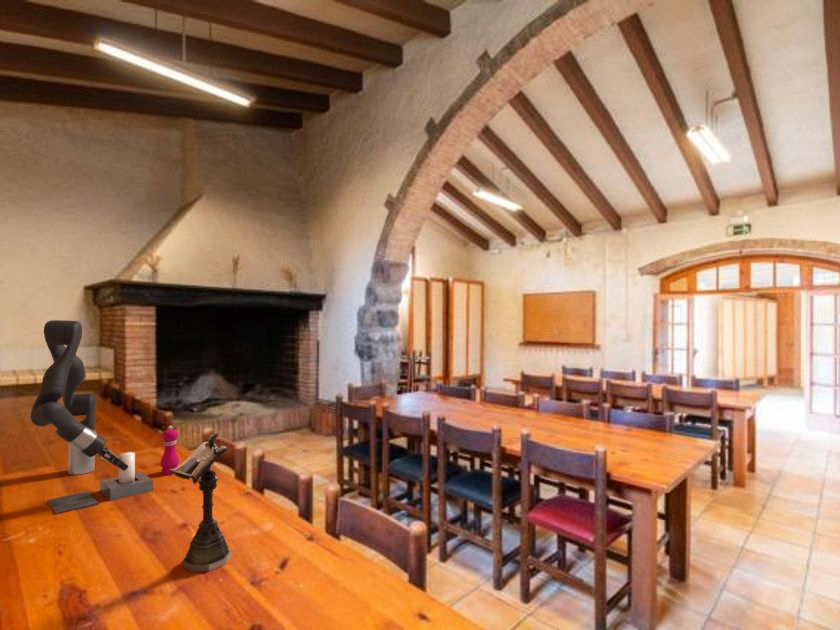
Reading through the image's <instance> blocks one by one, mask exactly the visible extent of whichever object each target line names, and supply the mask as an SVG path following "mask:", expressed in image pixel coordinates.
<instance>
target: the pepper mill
mask: <svg viewBox="0 0 840 630" xmlns="http://www.w3.org/2000/svg"><path fill="white" fill-rule="evenodd" d="M161 437H162V440H163V446H164V451H163V455H162V456H161V459H160V467H161V468H162V469H161V474H162V475H165V476H169V474H170V473H171V472H170V471H169V470H170V469H176V468H177V467H178V466H179V465H180V458H179V457H180V456H179V455H178V453H177V450H176V445H177V439H178V437H179V433H178V431H177V430H176V429H173V426H172V425H169V426H168V427H167V429H166V430H164V431H163V432H162V435H161ZM176 471H179V470H176ZM171 475H175V473H172V474H171Z"/></svg>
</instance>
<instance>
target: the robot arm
mask: <svg viewBox="0 0 840 630" xmlns="http://www.w3.org/2000/svg"><path fill="white" fill-rule="evenodd" d="M43 337H44V339H45V343H46V345H47V348H48V350H49V353H50V356H51V358H52V361H53V363H52V364H51V365H50V366H49V367H48V368H47V369H46V370H45V372H44V374H43V376H42V381H41V385H40V391H39V394H38V395H37V397H36V399H35V401H34V404H33V405H32V407H31V412H30V420H31V422H32V424H34V425H35V426H37V427H46V426H48V425H51V424H52V426H54V427H55V428H56V431H55V433H56V435H57V436H58V437H60V438H61V439H63V440H64V441H65V442H67V443H68V470H67V471H68V474H69V475H73V476H74V475H84V474H88V473H92V472H94V471H95V469H96V468H95V465H96V456H97V457H98V458H100V459H101V460H102V461H103V460H104V461H105V462H106V463H108V464H112V465H113V466H114V467H117V468H118V469H119V468H120V469H122V470H123V471H125V470H126V469H127V468H128V465H127V464H125V463H124V462H122V461H121V459H119V457H118V455H117V454H116V453H114V452H113V451H112V449H110V448H108V447H107V446H105V445H106V444H107V439H105V438H104V437H102V436H101V435H100V434H99V433H97V432H96V413H97V411H96V410H97V396H96V395H95V393H92V392H90V393H75V391H76V390H77V389H78V387H79V386H80V385H81V384H82V383H83V382H84V380H85V378H86V370H85V369H86V368H85V365H84V362H83V360H82V359H81V358H80V357H79V356H78V355H77V352H78V350H79V347H80V343H81V341H82V337H83V325H82V323H81V322H80V321H78V320H64V319H63V320H56V319H54V320H49V321H47V322H45V324H44V326H43ZM61 398H62V402H63V405H62V404H61V403H59V400H60V399H61ZM79 416H85V417H84V419H82V420H80V421H78V420H77V419H75V417H79Z"/></svg>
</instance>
